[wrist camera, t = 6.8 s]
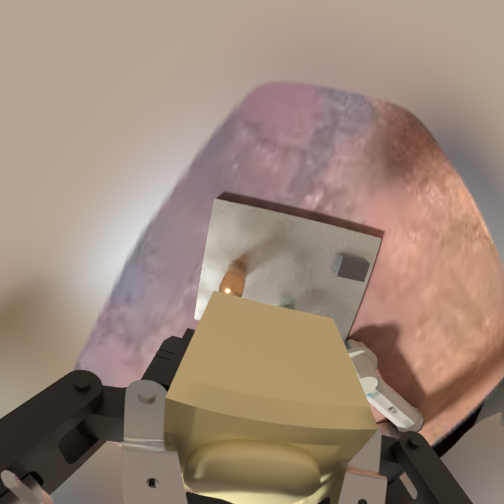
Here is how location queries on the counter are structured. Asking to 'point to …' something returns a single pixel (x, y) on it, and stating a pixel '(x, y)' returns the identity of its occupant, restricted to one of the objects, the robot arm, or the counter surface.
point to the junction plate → (286, 262)
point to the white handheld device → (382, 389)
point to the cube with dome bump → (264, 403)
